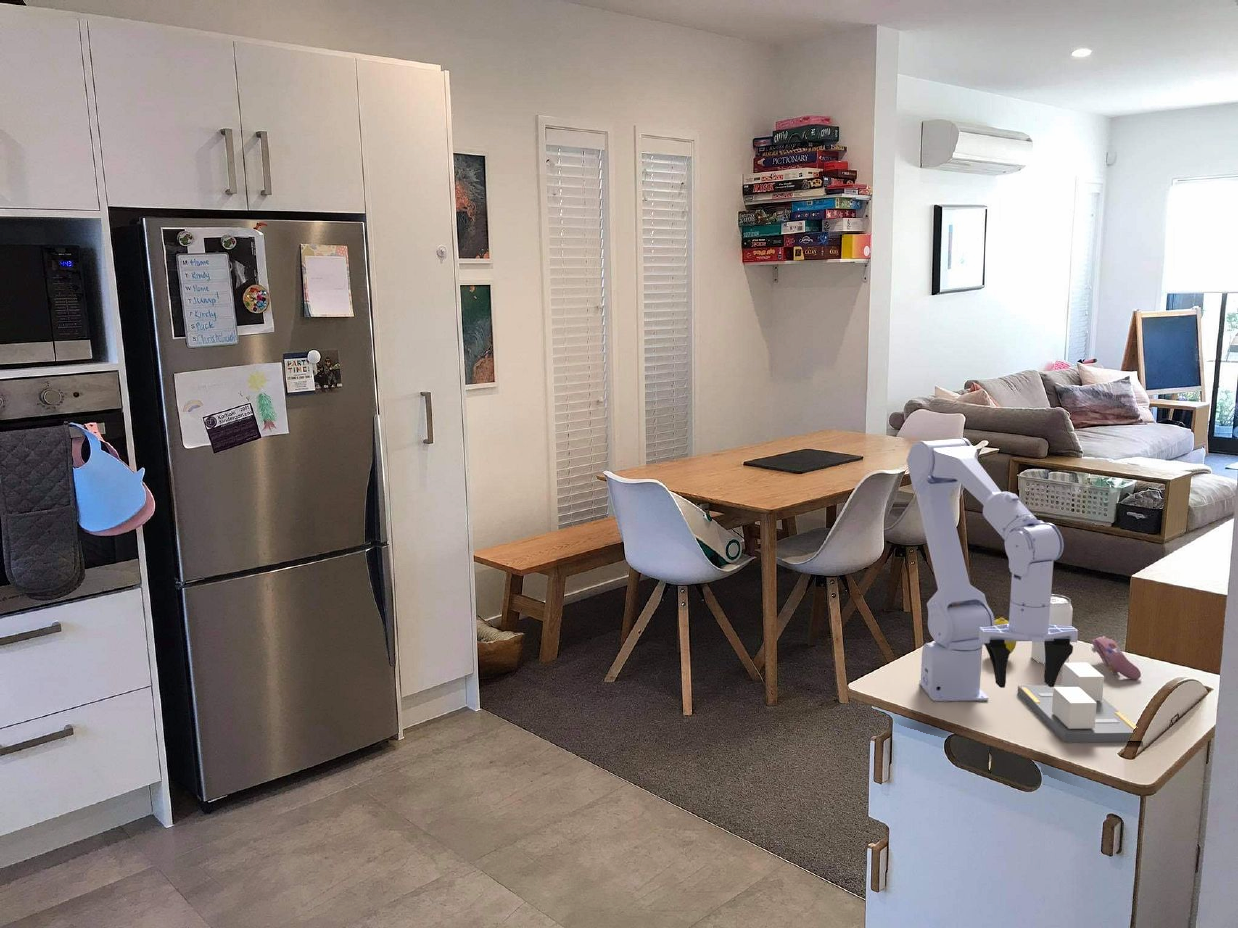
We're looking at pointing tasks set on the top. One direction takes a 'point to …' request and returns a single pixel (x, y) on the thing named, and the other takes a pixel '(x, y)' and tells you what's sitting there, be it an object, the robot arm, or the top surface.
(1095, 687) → the switch back
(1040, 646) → the can
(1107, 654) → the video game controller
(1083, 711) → the switch front
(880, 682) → the top surface
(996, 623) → the lemon
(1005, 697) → the top surface
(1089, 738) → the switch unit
